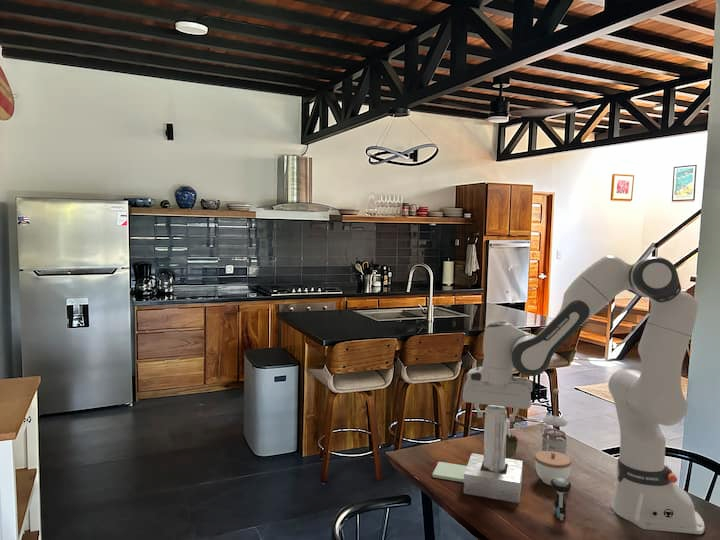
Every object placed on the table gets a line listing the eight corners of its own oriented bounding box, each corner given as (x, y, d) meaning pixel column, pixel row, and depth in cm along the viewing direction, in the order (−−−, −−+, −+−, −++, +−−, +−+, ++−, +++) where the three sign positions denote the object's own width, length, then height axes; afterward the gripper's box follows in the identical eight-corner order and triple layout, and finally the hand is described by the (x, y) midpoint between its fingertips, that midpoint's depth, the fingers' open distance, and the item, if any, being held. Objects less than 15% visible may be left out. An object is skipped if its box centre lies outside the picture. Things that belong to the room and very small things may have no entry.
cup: (517, 465, 177) (518, 442, 177) (495, 463, 179) (496, 440, 178) (515, 456, 185) (516, 434, 184) (494, 454, 186) (495, 432, 186)
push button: (572, 523, 142) (573, 487, 141) (551, 520, 143) (552, 485, 143) (568, 510, 149) (569, 476, 148) (548, 508, 150) (549, 474, 149)
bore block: (522, 479, 167) (522, 460, 167) (519, 503, 152) (519, 483, 152) (471, 470, 173) (471, 453, 172) (463, 493, 158) (464, 473, 157)
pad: (468, 469, 174) (468, 466, 174) (463, 482, 165) (463, 479, 165) (438, 464, 178) (438, 461, 178) (432, 477, 168) (432, 474, 168)
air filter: (507, 484, 164) (509, 406, 162) (500, 493, 158) (503, 411, 156) (486, 479, 167) (489, 402, 165) (479, 487, 162) (482, 407, 160)
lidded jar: (532, 472, 173) (533, 444, 172) (566, 475, 171) (567, 447, 170) (536, 487, 162) (537, 458, 161) (573, 491, 160) (574, 461, 159)
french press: (549, 467, 176) (551, 394, 175) (530, 453, 188) (532, 384, 186) (574, 464, 179) (577, 392, 177) (554, 450, 190) (557, 382, 188)
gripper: (533, 375, 160) (531, 420, 161) (465, 368, 167) (464, 411, 168) (532, 381, 154) (531, 427, 155) (462, 373, 161) (461, 418, 162)
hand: (495, 419), depth 161 cm, fingers open, 8 cm apart
